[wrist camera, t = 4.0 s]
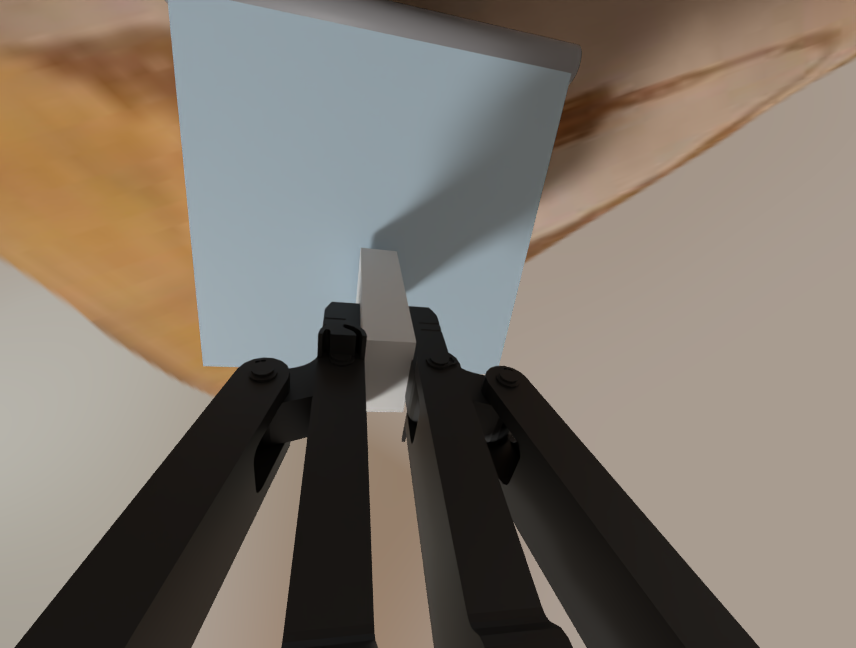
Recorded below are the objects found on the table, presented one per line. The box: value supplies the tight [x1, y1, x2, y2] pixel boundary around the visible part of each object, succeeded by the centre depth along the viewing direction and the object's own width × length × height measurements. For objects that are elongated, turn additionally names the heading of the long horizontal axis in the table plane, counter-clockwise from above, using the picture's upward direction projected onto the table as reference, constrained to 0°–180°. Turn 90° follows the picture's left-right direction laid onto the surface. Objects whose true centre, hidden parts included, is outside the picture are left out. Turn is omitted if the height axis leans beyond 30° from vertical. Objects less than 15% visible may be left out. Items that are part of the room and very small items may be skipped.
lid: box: [165, 0, 582, 374], centre depth 17 cm, size 15×14×1 cm
